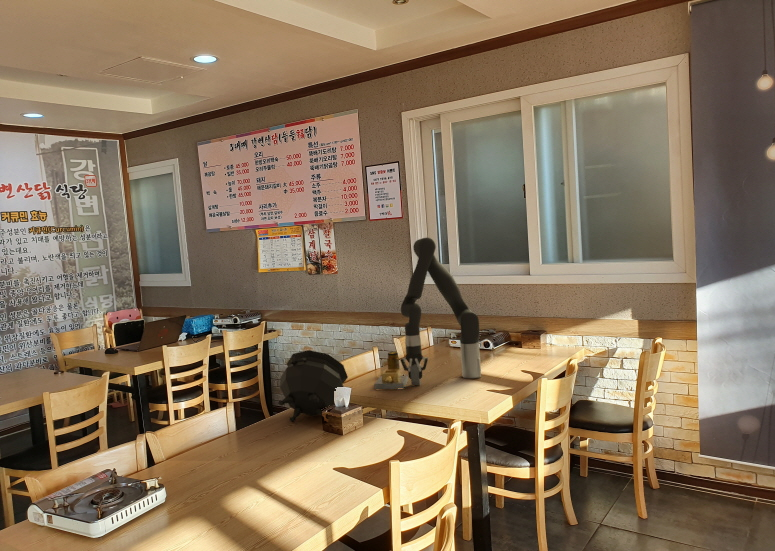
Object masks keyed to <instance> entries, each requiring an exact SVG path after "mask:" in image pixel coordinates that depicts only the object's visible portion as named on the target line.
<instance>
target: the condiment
mask: <svg viewBox="0 0 775 551" xmlns="http://www.w3.org/2000/svg"><path fill="white" fill-rule="evenodd" d="M400 367H401V366H400V358H399V353H398V352H397V351H390V352H388V353H387V370H400V371H401V369H400ZM401 374H402V375H403V374H404V373H401ZM404 375H406V374H404Z"/></svg>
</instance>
